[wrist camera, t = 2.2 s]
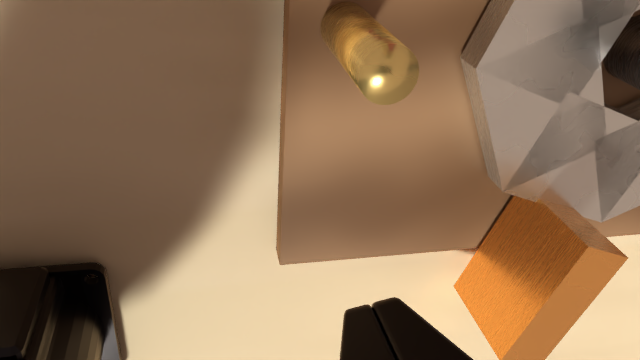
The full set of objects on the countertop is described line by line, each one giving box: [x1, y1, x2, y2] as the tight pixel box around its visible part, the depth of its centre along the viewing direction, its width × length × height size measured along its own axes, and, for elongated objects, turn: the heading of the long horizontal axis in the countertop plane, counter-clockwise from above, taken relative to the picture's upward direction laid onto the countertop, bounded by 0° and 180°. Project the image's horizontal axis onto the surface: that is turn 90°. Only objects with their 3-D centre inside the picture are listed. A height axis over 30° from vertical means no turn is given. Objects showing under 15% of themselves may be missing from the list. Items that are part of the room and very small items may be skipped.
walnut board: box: [276, 0, 640, 265], centre depth 20 cm, size 18×24×1 cm
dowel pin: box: [320, 2, 419, 105], centre depth 16 cm, size 2×2×6 cm
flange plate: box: [454, 0, 640, 360], centre depth 19 cm, size 18×13×4 cm
